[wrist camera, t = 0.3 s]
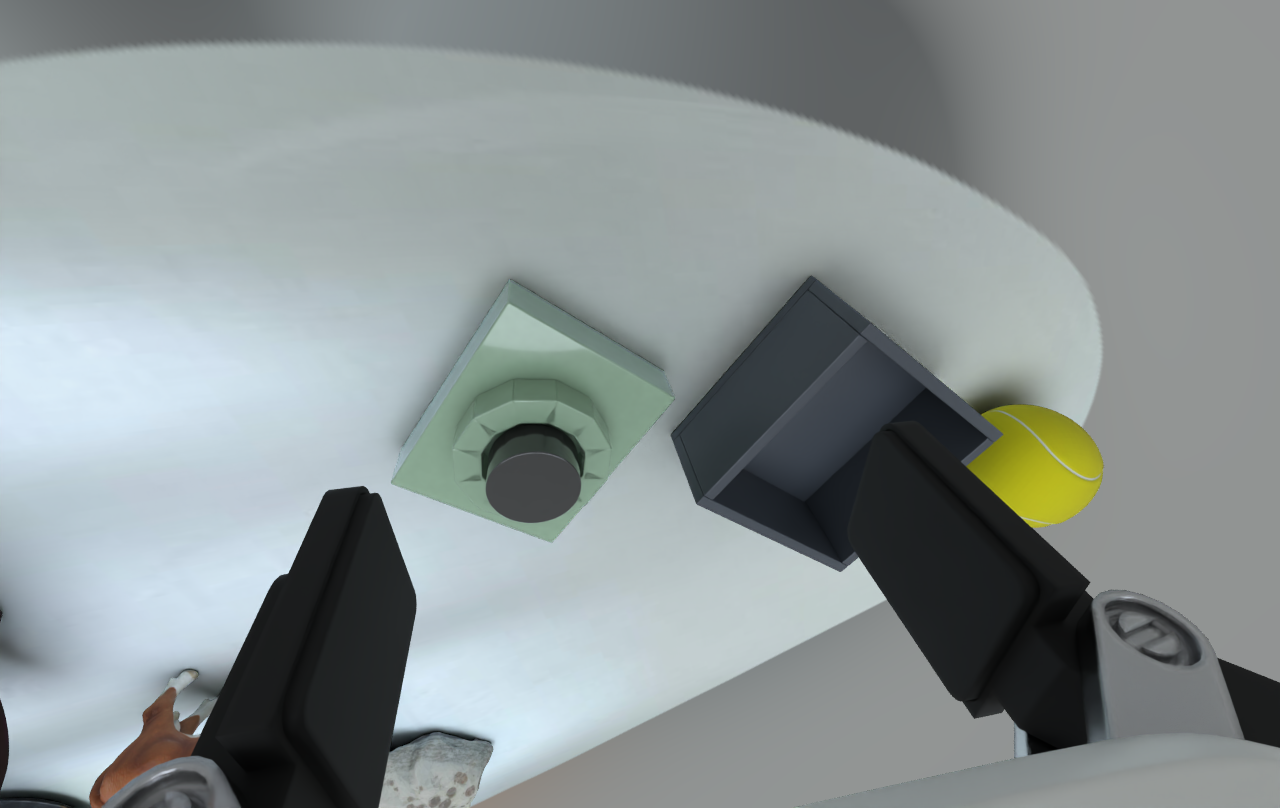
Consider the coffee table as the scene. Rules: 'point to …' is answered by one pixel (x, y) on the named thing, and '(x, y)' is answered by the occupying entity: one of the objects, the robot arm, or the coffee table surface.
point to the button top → (533, 474)
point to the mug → (3, 741)
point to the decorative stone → (434, 772)
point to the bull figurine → (154, 740)
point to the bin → (812, 424)
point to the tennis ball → (1039, 464)
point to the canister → (30, 803)
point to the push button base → (531, 405)
